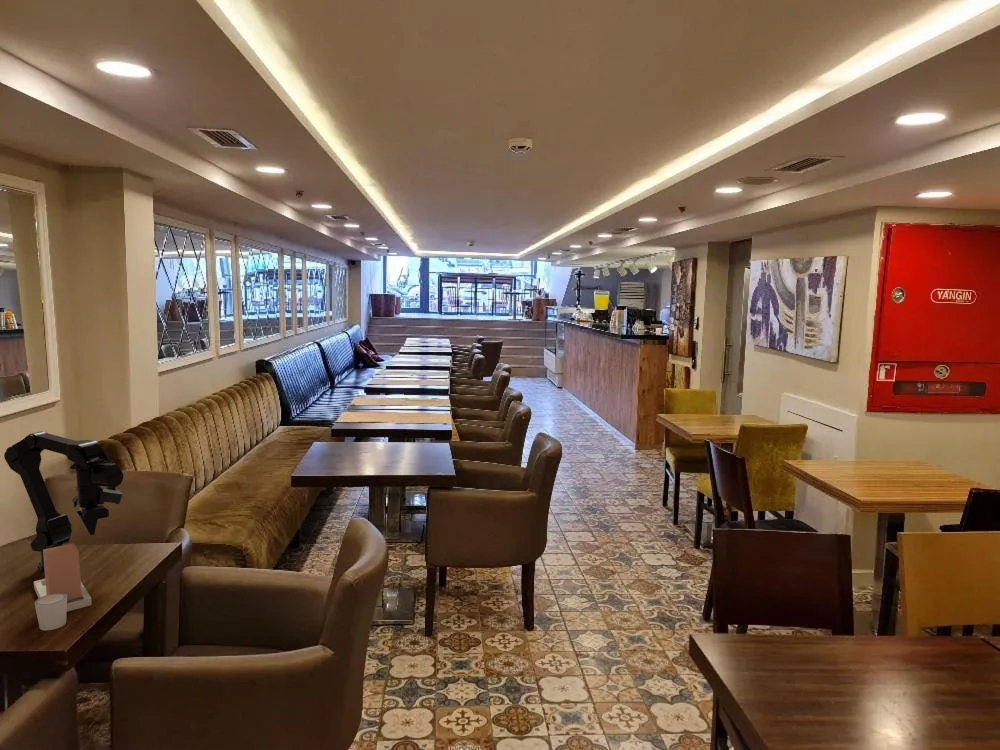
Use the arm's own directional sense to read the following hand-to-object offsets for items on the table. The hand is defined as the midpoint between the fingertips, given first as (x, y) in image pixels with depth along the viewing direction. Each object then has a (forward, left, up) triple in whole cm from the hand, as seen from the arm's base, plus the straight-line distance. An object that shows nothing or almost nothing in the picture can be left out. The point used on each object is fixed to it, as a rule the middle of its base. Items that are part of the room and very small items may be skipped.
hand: (92, 534), depth 192 cm
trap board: (+11, -10, -12) cm, 19 cm away
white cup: (+28, -15, -12) cm, 34 cm away
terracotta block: (+16, -10, -10) cm, 22 cm away
